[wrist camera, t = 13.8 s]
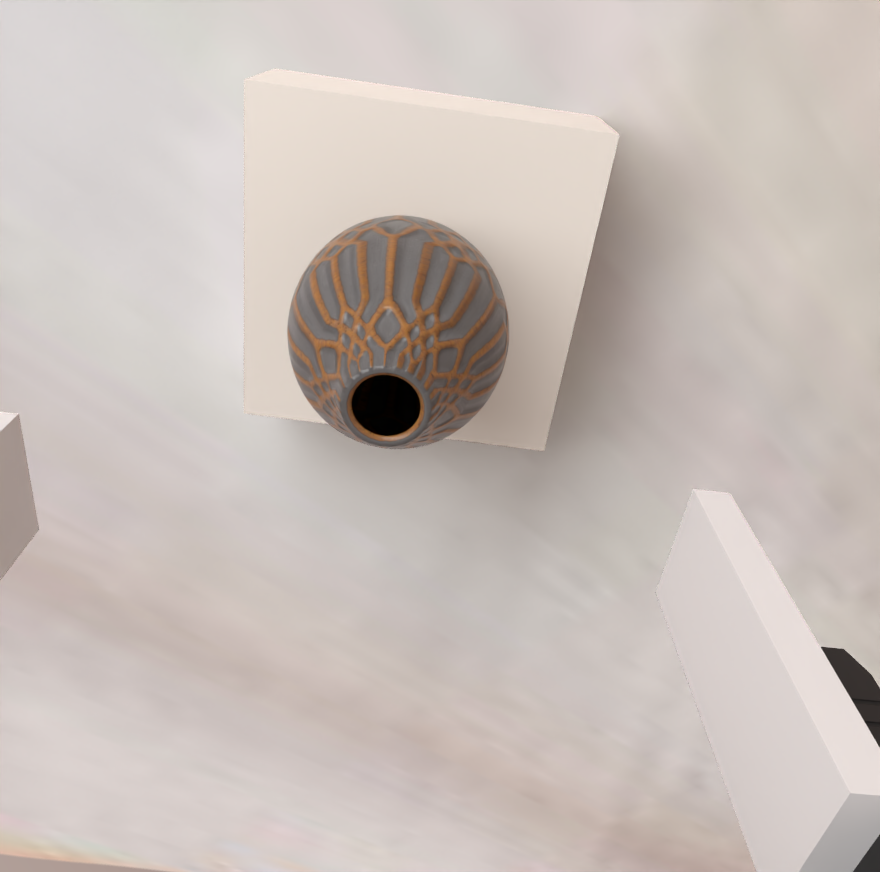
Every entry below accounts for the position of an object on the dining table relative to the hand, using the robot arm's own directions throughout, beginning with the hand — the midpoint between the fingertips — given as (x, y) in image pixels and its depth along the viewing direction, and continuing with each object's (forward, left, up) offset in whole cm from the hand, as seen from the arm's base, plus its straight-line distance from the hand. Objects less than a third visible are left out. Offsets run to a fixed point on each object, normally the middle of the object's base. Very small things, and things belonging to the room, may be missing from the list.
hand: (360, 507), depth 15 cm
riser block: (0, 0, -19) cm, 19 cm away
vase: (0, 0, -14) cm, 14 cm away
